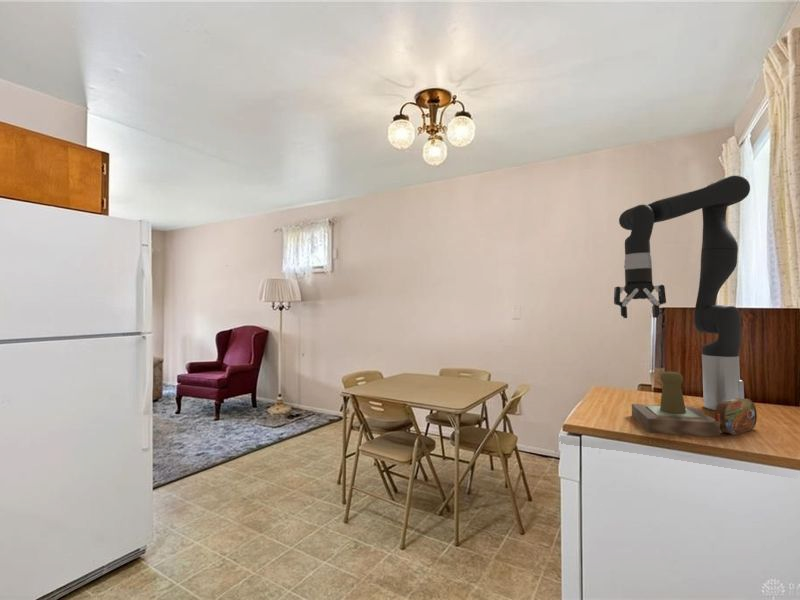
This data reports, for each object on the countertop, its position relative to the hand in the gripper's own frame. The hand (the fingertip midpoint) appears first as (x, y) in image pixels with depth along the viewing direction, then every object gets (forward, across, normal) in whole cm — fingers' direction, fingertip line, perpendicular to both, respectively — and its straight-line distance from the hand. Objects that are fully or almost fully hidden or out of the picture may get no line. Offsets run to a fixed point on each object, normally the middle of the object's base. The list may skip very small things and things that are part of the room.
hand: (640, 317), depth 124 cm
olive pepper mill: (+26, +3, -16) cm, 30 cm away
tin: (+30, +17, -18) cm, 39 cm away
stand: (+30, +3, -16) cm, 34 cm away
